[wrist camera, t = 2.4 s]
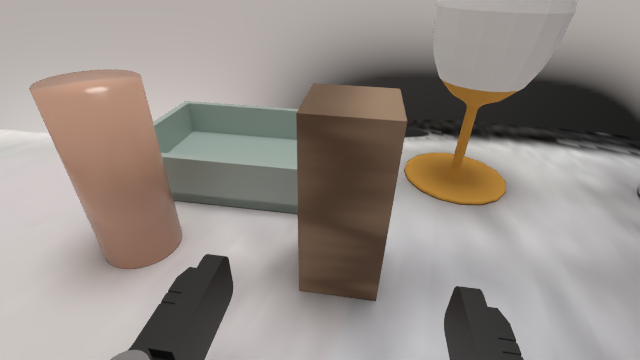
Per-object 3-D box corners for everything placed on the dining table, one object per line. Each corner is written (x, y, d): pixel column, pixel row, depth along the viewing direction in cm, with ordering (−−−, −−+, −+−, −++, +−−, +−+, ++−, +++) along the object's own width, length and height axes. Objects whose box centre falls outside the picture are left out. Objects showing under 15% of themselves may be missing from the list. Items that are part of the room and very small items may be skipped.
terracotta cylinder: (194, 223, 24) (159, 72, 18) (158, 273, 20) (98, 99, 14) (134, 216, 25) (81, 67, 19) (87, 263, 21) (1, 91, 15)
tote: (360, 149, 35) (363, 114, 33) (354, 219, 25) (358, 175, 23) (192, 135, 37) (185, 101, 35) (123, 194, 27) (107, 151, 25)
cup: (518, 212, 26) (621, -22, 18) (404, 196, 28) (448, -26, 19) (493, 160, 34) (555, -21, 25) (403, 150, 35) (435, -25, 27)
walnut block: (375, 246, 23) (400, 89, 17) (375, 301, 19) (407, 121, 13) (311, 239, 23) (313, 83, 17) (299, 290, 19) (296, 113, 13)
